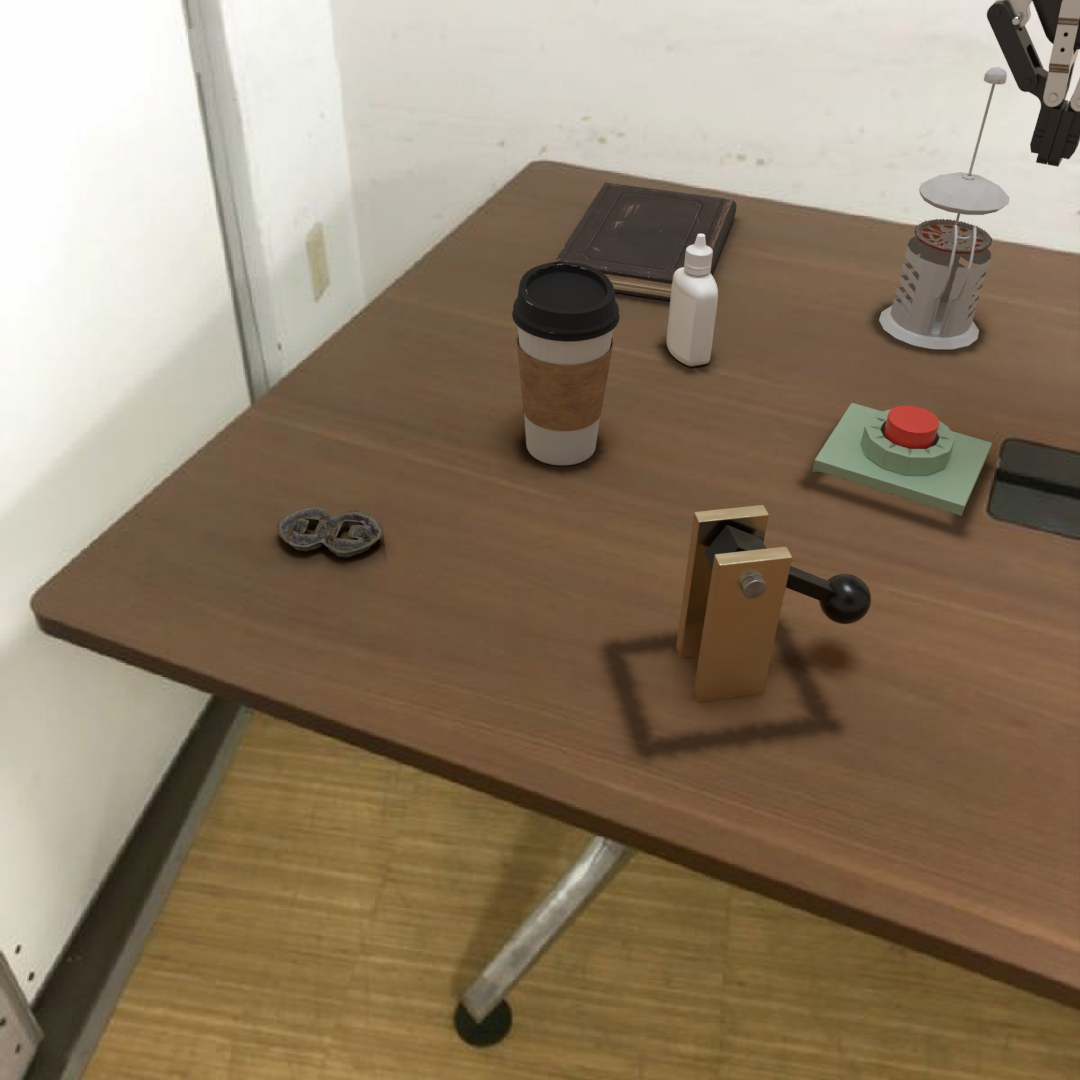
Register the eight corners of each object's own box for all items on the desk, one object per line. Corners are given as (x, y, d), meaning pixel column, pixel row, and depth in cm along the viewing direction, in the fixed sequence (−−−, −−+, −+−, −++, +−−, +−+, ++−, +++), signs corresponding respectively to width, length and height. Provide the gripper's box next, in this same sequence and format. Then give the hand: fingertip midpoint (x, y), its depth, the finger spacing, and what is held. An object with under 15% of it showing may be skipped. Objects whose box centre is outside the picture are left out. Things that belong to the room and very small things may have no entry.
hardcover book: (551, 283, 118) (552, 262, 117) (603, 200, 135) (604, 182, 134) (700, 306, 115) (703, 285, 114) (735, 218, 132) (737, 199, 131)
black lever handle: (837, 606, 74) (868, 572, 72) (856, 639, 72) (889, 605, 70) (697, 552, 68) (728, 513, 67) (712, 586, 66) (745, 547, 65)
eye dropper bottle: (662, 365, 106) (674, 246, 98) (666, 336, 110) (678, 220, 102) (709, 370, 105) (724, 250, 98) (711, 340, 109) (726, 224, 102)
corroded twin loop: (289, 513, 87) (287, 502, 86) (390, 523, 86) (389, 512, 86) (269, 554, 83) (267, 543, 82) (374, 565, 82) (373, 554, 82)
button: (939, 432, 91) (944, 413, 90) (927, 456, 89) (932, 437, 88) (891, 418, 93) (895, 400, 92) (877, 441, 90) (882, 423, 89)
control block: (985, 464, 94) (998, 424, 92) (957, 528, 87) (970, 487, 85) (846, 423, 99) (855, 384, 96) (810, 481, 92) (818, 441, 89)
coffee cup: (598, 414, 99) (608, 256, 89) (620, 470, 92) (633, 306, 83) (504, 422, 98) (504, 262, 88) (520, 479, 91) (521, 313, 82)
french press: (973, 307, 116) (1047, 55, 100) (987, 363, 107) (1072, 96, 91) (876, 298, 117) (934, 47, 101) (882, 353, 108) (947, 87, 92)
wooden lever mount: (778, 626, 78) (810, 479, 70) (827, 722, 72) (868, 572, 64) (612, 646, 77) (625, 498, 68) (646, 747, 70) (664, 595, 62)
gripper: (1008, -138, 64) (936, 160, 75) (1264, -115, 59) (1148, 200, 70) (1033, -155, 69) (962, 126, 80) (1271, -135, 64) (1161, 162, 75)
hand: (1049, 161), depth 75 cm, fingers closed
